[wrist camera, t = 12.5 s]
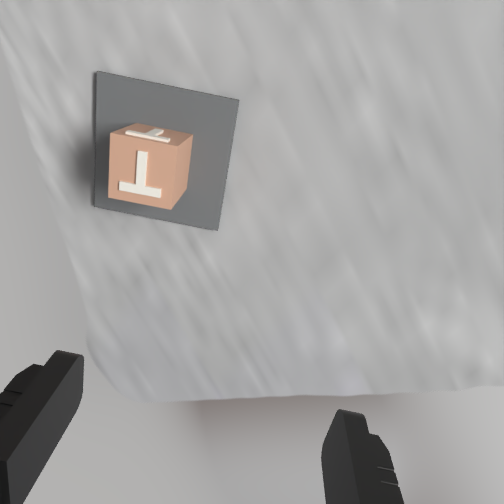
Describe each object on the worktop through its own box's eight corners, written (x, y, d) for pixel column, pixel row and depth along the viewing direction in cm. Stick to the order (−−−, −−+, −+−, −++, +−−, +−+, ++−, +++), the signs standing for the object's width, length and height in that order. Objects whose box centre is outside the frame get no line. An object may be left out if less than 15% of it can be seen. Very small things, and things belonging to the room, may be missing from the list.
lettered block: (136, 120, 34) (109, 130, 28) (193, 132, 34) (177, 143, 29) (133, 178, 36) (107, 198, 31) (186, 189, 36) (170, 210, 31)
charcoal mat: (99, 71, 33) (96, 71, 33) (239, 100, 34) (238, 100, 33) (96, 204, 38) (94, 206, 38) (218, 228, 39) (217, 230, 38)
